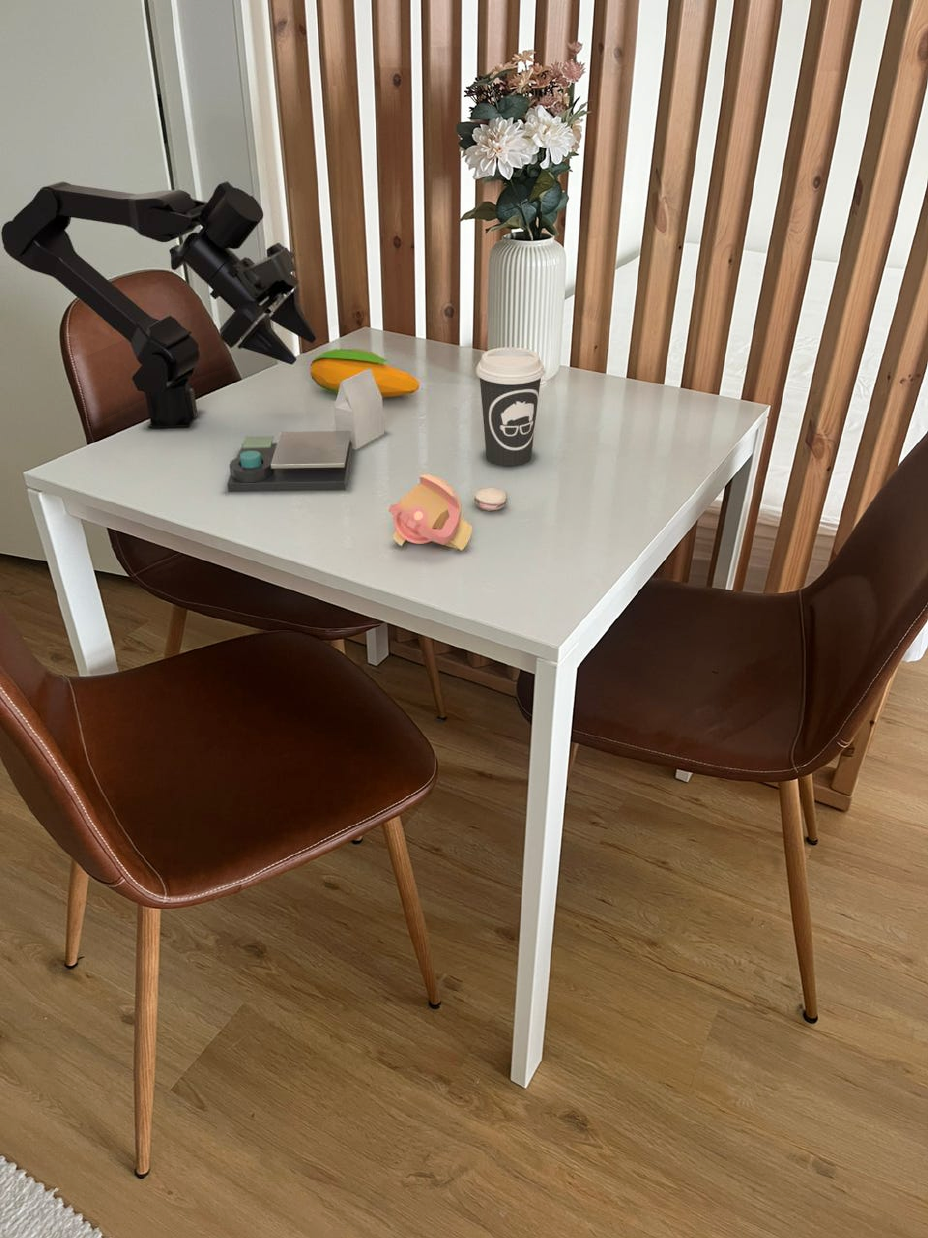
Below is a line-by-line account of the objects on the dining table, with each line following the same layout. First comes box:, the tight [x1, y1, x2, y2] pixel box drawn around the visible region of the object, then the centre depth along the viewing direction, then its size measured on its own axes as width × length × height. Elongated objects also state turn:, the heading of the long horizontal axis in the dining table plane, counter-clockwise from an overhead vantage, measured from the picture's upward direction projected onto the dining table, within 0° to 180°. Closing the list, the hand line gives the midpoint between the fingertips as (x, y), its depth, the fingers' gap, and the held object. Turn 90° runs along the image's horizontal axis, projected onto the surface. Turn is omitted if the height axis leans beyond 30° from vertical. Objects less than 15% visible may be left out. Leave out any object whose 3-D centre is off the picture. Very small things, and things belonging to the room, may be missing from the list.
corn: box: [309, 348, 420, 398], centre depth 164 cm, size 7×8×20 cm
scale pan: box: [271, 430, 350, 469], centre depth 141 cm, size 10×11×1 cm
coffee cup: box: [475, 346, 546, 467], centre depth 142 cm, size 10×10×15 cm
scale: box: [226, 442, 353, 493], centre depth 142 cm, size 16×13×3 cm
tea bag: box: [333, 368, 385, 450], centre depth 149 cm, size 4×7×10 cm, turn 146°
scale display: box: [241, 435, 275, 448], centre depth 143 cm, size 4×4×1 cm
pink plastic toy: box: [388, 473, 474, 552], centre depth 124 cm, size 9×10×10 cm
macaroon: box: [474, 487, 508, 512], centre depth 133 cm, size 4×5×2 cm
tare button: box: [240, 451, 262, 468], centre depth 138 cm, size 3×3×2 cm
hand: (304, 351), depth 145 cm, fingers open, 9 cm apart
